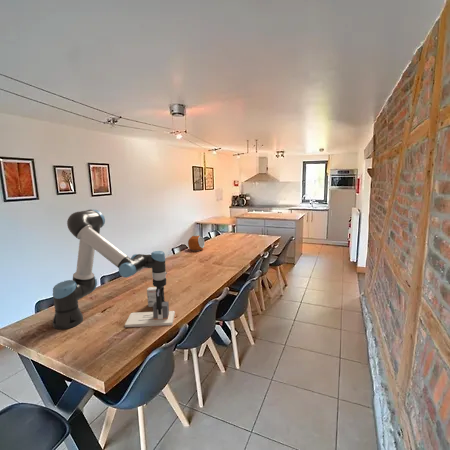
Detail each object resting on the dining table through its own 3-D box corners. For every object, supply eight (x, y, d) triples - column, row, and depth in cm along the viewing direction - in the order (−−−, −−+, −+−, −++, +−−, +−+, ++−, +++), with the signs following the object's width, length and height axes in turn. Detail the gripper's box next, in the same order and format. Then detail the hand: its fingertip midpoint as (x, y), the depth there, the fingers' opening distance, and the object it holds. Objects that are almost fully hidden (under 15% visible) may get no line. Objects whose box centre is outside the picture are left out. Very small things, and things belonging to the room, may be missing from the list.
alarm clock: (199, 252, 309) (199, 237, 306) (185, 251, 315) (185, 236, 312) (206, 248, 326) (206, 234, 324) (193, 247, 333) (193, 233, 330)
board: (124, 327, 153) (124, 324, 153) (131, 314, 167) (131, 312, 167) (172, 325, 155) (172, 322, 155) (174, 313, 169) (174, 310, 168)
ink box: (162, 303, 182) (161, 286, 180) (161, 306, 177) (160, 289, 176) (149, 303, 182) (148, 286, 180) (147, 307, 177) (146, 289, 175)
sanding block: (153, 319, 158) (152, 306, 156) (155, 314, 164) (154, 302, 162) (167, 319, 158) (167, 306, 157) (168, 314, 164) (168, 301, 163)
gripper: (163, 284, 148) (165, 324, 152) (168, 272, 167) (169, 308, 171) (149, 284, 148) (151, 324, 151) (155, 272, 166) (157, 308, 170)
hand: (161, 316), depth 161 cm, fingers closed on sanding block, 6 cm apart
